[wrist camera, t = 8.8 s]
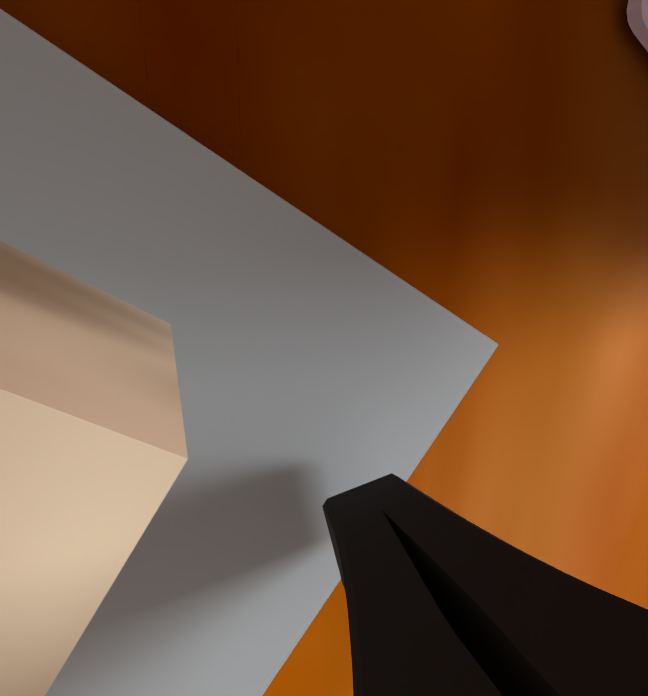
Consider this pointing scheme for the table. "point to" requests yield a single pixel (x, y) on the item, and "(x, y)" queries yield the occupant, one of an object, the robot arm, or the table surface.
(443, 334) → the board
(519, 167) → the table surface
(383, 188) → the table surface
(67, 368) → the beige rectangular block
